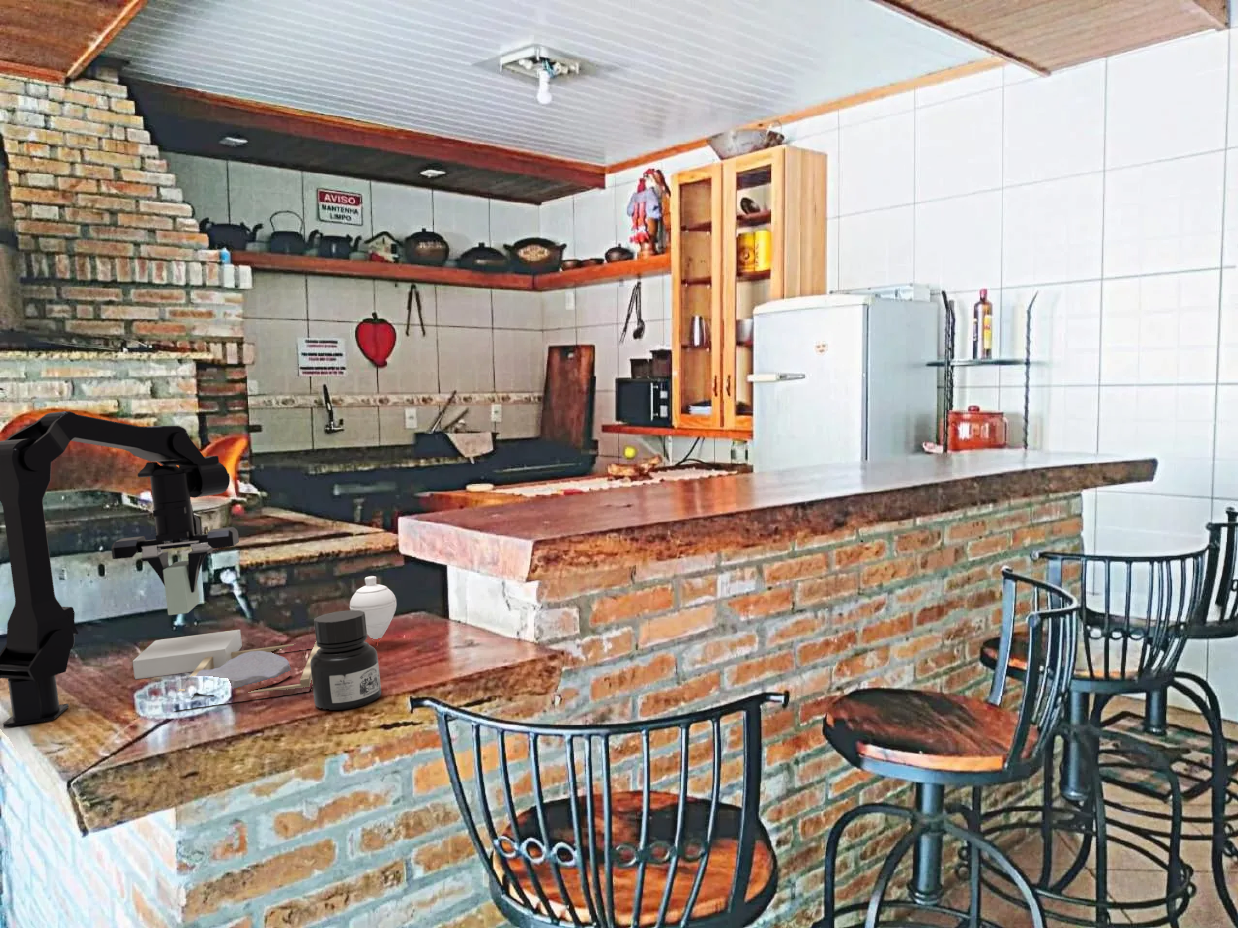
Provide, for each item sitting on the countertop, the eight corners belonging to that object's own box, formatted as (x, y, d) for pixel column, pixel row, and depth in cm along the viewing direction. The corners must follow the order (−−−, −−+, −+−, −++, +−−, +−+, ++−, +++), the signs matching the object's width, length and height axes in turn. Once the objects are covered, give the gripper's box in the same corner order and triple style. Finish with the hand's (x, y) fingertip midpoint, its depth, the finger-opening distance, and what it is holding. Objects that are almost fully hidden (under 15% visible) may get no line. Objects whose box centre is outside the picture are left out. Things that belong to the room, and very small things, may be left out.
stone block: (299, 687, 146) (254, 671, 150) (299, 659, 145) (254, 642, 150) (235, 716, 136) (189, 697, 140) (235, 685, 135) (189, 667, 139)
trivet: (227, 666, 154) (225, 648, 154) (134, 679, 151) (132, 661, 151) (242, 645, 168) (240, 629, 168) (157, 657, 165) (155, 640, 165)
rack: (310, 692, 136) (308, 678, 136) (173, 711, 132) (171, 697, 132) (326, 646, 162) (324, 635, 162) (212, 661, 158) (211, 649, 158)
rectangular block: (187, 612, 155) (182, 567, 154) (168, 615, 154) (163, 570, 154) (199, 602, 164) (194, 559, 163) (181, 604, 163) (176, 561, 162)
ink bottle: (343, 716, 124) (333, 626, 123) (298, 709, 129) (289, 622, 128) (397, 693, 132) (388, 609, 131) (353, 687, 137) (344, 606, 136)
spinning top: (402, 648, 157) (395, 577, 156) (355, 655, 155) (347, 583, 154) (398, 637, 164) (391, 570, 163) (353, 644, 162) (346, 576, 161)
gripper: (239, 492, 167) (249, 578, 168) (125, 502, 163) (136, 591, 165) (227, 497, 157) (238, 589, 158) (105, 509, 153) (116, 603, 154)
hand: (182, 593), depth 159 cm, fingers closed on rectangular block, 3 cm apart
